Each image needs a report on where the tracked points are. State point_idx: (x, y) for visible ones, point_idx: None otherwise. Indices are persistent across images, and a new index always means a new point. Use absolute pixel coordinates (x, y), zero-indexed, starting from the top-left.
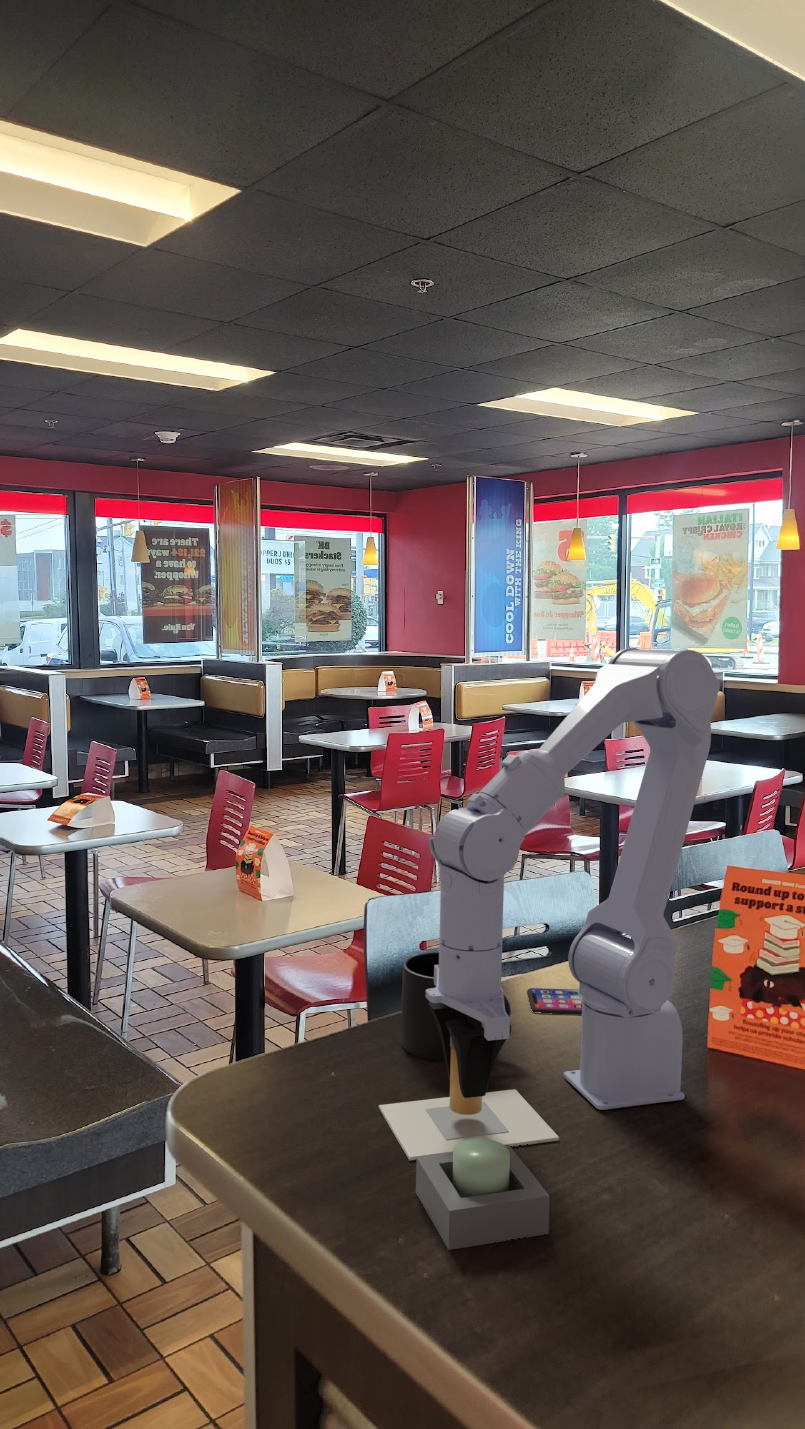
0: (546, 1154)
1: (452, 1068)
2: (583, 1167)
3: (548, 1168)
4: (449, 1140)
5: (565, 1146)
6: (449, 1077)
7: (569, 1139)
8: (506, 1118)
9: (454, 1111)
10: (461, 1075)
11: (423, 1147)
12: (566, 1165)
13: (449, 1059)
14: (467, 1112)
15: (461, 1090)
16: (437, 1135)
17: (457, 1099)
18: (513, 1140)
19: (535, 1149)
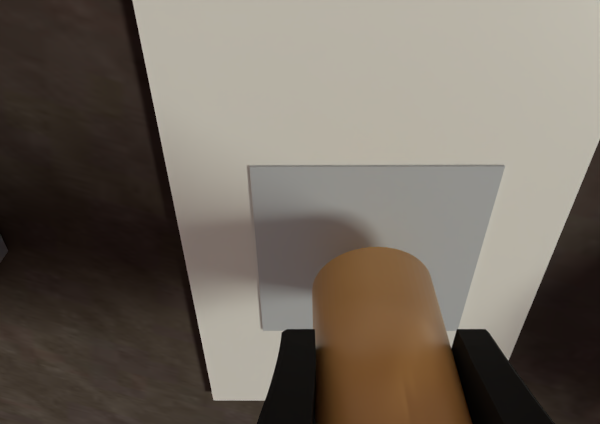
0: (150, 356)
1: (392, 399)
2: (85, 392)
3: (79, 341)
4: (246, 174)
5: (185, 393)
6: (476, 334)
7: (217, 407)
8: None
9: (349, 253)
10: (264, 417)
11: (209, 70)
12: (94, 371)
13: (493, 414)
14: (314, 286)
15: (301, 344)
16: (294, 148)
17: (340, 297)
18: (212, 324)
19: (178, 345)
